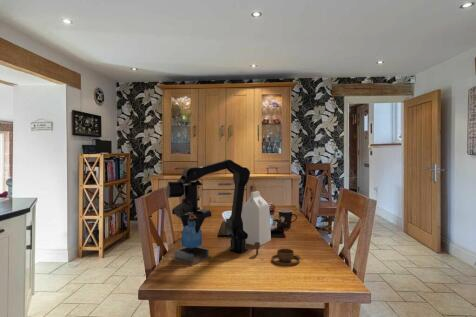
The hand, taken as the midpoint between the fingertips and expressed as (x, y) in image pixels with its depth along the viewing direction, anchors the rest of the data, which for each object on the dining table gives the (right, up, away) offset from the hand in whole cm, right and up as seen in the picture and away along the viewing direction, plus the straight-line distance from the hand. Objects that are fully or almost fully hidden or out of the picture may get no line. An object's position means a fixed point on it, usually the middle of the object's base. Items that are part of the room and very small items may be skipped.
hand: (191, 231), depth 135 cm
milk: (+30, -12, +27) cm, 42 cm away
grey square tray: (0, -12, 0) cm, 12 cm away
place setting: (+39, -12, 0) cm, 41 cm away
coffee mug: (+51, -11, +57) cm, 77 cm away
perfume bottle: (0, -6, 0) cm, 6 cm away
